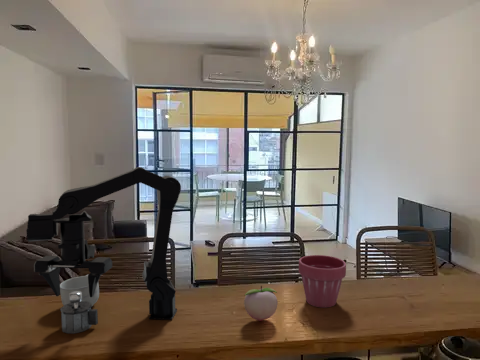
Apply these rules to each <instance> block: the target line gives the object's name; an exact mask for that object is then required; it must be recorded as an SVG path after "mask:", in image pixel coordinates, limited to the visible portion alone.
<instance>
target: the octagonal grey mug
mask: <svg viewBox="0 0 480 360" xmlns="http://www.w3.org/2000/svg"><path fill="white" fill-rule="evenodd" d="M92 307H93V306H92V305H91V304H90V303H89V302H81V301H80V302H78V308H77V309H74V303H69V304H67V305H63V306H62V307H61V308H60V309H59V310H60V312H61V313H60V314H61V332H63V333H66V334H78V333H83V332H85V331H87V330H89V329H90V328H91V327H92V326H97V325H98V323H99V319H98V317H99V316H98V314H99V313H98V309H97V308H92Z"/></svg>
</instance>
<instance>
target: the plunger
mask: <svg viewBox="0 0 480 360" xmlns="http://www.w3.org/2000/svg"><path fill="white" fill-rule="evenodd" d="M69 298H70V302H71V303H74V309H77V308H78V302H80V301H82V292H81V291H74V292H71V293H70V294H69Z"/></svg>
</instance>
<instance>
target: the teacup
mask: <svg viewBox="0 0 480 360" xmlns="http://www.w3.org/2000/svg"><path fill="white" fill-rule="evenodd" d="M89 274H90V273H88V274H86V275H81V276H77V277H76V276H75V277H72V278H69V279H66V280H64V281H62V282H61V283H60V299H61V303H62V305H63V306H64V305H67V304H69V303H71V302H70V298H69V294H70V293H71V292H74V291H81V292H82V301H81V302H89V303H90V304H91V305H92V307H93V306H94V305H95V304H96V303H97V301H98V300H99V297H100V287H99V282H98V283H97V286H96V289H95V292H94V295H93V297H90V294H89V284H88V275H89Z"/></svg>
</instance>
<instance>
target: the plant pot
mask: <svg viewBox="0 0 480 360" xmlns="http://www.w3.org/2000/svg"><path fill="white" fill-rule="evenodd" d="M298 273H299V274H300V275H301V280H302V285H303V291H304V295H305V301H306V302H307V303H308V304H309V305H311V306H313V307H316V308H331V307H334V306H335V305H336V304H337V301H338V297H339V293H340V289H341V285H342V282H343V279H344V278H346V276H347V275H346V274H347V263H346V262H345V261H344V260H343V259H341V258H338V257H335V256H333V255H321V254H314V255H313V254H312V255H305V256H302V257H300V258H299V259H298Z"/></svg>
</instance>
